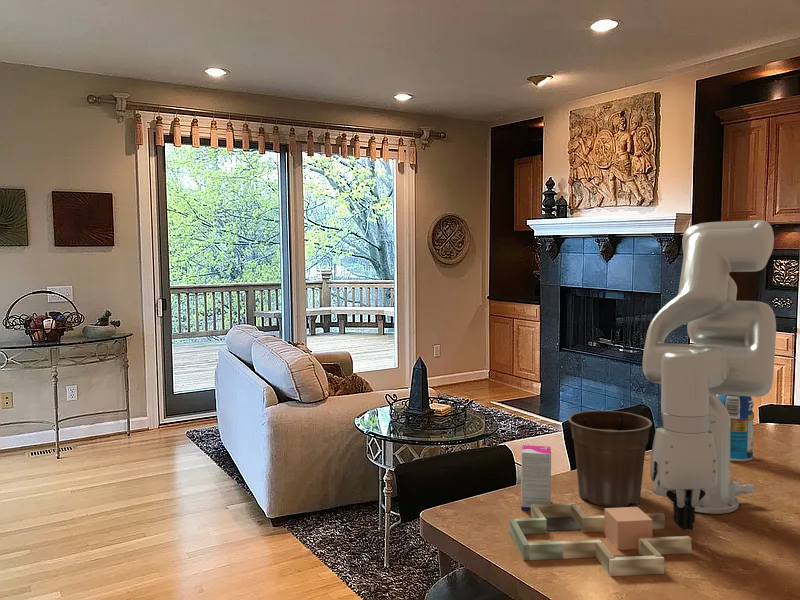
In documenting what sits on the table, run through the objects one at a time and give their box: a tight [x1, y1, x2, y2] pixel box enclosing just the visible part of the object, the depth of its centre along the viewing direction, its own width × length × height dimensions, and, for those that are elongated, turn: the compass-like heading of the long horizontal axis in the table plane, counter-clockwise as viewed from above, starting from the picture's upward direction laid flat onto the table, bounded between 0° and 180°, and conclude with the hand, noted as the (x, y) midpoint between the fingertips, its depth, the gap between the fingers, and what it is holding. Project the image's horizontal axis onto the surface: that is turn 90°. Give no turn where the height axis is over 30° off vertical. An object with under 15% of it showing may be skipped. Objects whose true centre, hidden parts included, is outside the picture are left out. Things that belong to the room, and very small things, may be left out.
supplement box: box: [520, 444, 552, 511], centre depth 132 cm, size 6×6×12 cm
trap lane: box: [508, 502, 692, 577], centre depth 114 cm, size 28×24×2 cm
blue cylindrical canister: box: [717, 394, 755, 462], centre depth 160 cm, size 8×8×20 cm
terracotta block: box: [603, 506, 653, 551], centre depth 114 cm, size 6×6×5 cm
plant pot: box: [568, 410, 653, 508], centre depth 135 cm, size 16×16×16 cm
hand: (684, 527), depth 115 cm, fingers closed
